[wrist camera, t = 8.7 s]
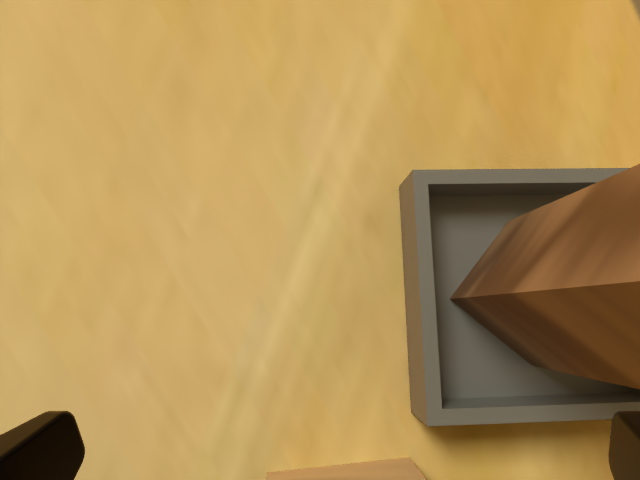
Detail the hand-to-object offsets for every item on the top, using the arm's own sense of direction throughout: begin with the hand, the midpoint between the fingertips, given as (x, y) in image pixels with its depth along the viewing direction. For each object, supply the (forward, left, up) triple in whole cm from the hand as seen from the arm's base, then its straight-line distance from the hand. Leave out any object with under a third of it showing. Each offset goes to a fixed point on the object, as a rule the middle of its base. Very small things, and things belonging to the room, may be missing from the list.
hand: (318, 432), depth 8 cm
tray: (+3, -10, -12) cm, 16 cm away
